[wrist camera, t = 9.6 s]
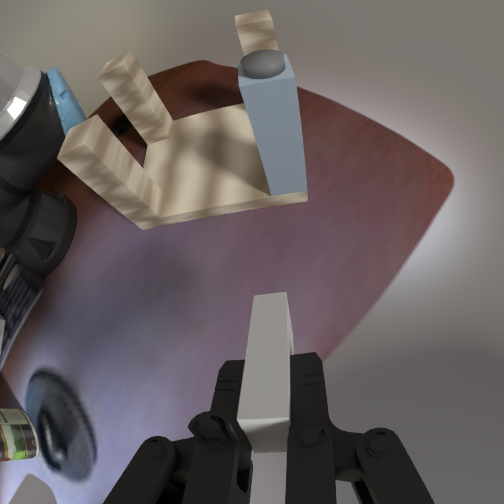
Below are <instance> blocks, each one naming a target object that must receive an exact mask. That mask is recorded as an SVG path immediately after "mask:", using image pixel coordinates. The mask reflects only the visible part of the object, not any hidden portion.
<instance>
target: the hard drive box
mask: <svg viewBox="0 0 504 504" xmlns="http://www.w3.org/2000/svg"><path fill="white" fill-rule="evenodd" d="M4 327H5V319H4V318H3V317H2V316H1V315H0V357H1V348H2V341H3V335H4Z"/></svg>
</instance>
